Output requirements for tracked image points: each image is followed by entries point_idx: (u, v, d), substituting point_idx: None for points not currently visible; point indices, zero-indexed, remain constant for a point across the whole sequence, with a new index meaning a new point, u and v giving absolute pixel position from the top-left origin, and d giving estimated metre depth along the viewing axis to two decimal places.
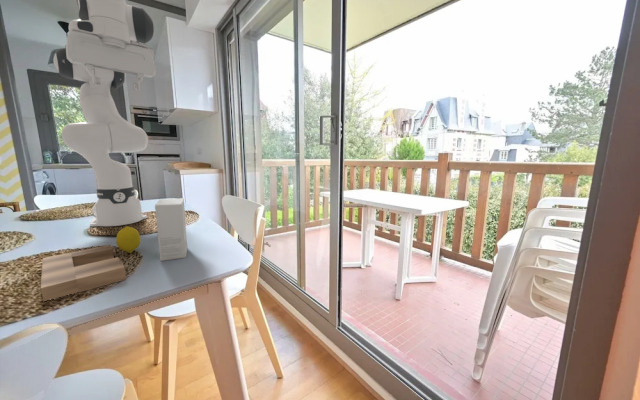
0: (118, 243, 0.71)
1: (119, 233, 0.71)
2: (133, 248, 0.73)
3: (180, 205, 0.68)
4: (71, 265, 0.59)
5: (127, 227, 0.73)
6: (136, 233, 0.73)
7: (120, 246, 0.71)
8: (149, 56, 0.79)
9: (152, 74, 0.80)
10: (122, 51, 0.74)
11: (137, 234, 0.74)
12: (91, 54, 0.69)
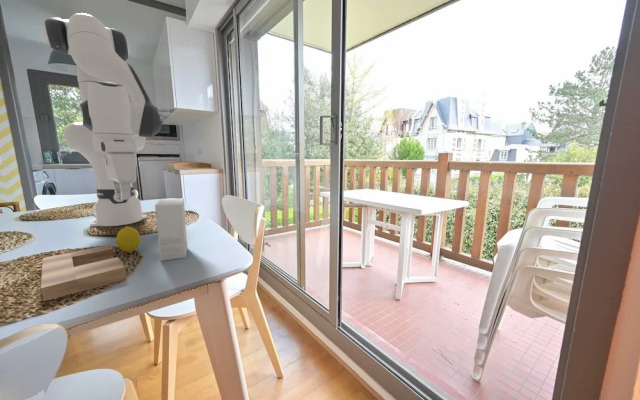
0: (118, 243, 0.71)
1: (119, 233, 0.71)
2: (133, 248, 0.73)
3: (180, 205, 0.68)
4: (71, 265, 0.59)
5: (127, 227, 0.73)
6: (136, 233, 0.73)
7: (120, 246, 0.71)
8: None
9: None
10: None
11: (137, 234, 0.74)
12: None
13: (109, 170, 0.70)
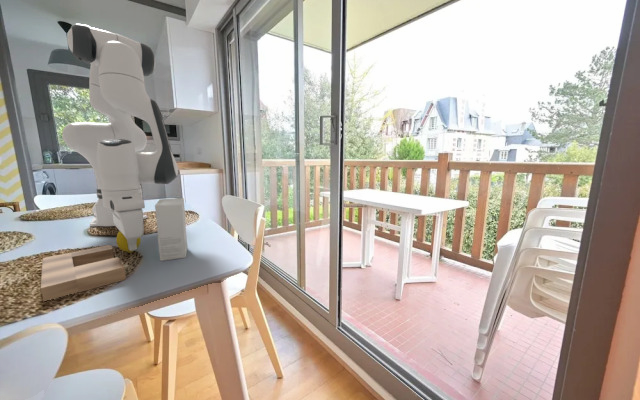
0: (118, 243, 0.71)
1: (119, 233, 0.71)
2: None
3: (180, 205, 0.68)
4: (71, 265, 0.59)
5: None
6: None
7: (120, 246, 0.71)
8: None
9: None
10: None
11: None
12: None
13: (117, 221, 0.73)
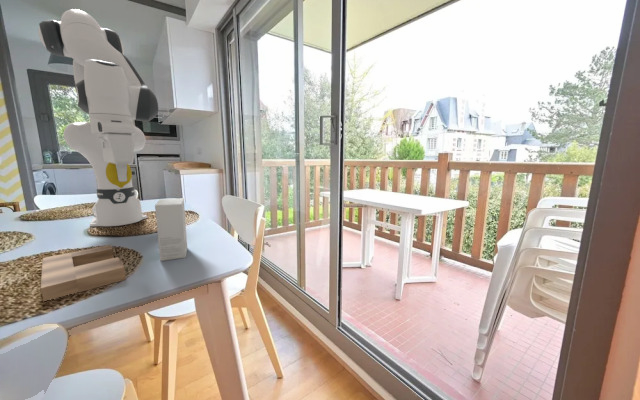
0: (107, 174, 0.67)
1: (109, 164, 0.67)
2: None
3: (180, 205, 0.68)
4: (71, 265, 0.59)
5: None
6: (127, 166, 0.69)
7: (110, 177, 0.67)
8: None
9: None
10: None
11: (128, 167, 0.70)
12: None
13: (106, 153, 0.69)
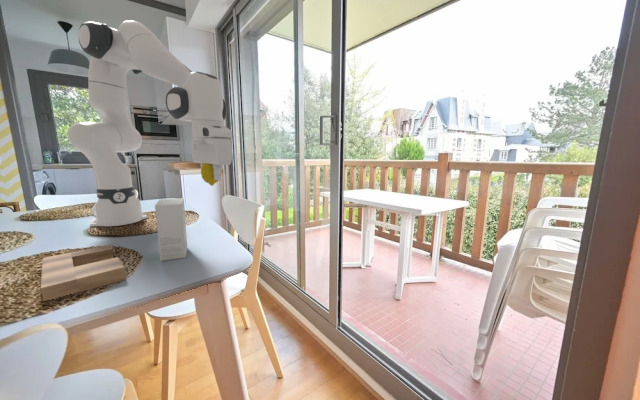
0: (204, 173, 0.75)
1: (204, 164, 0.76)
2: (216, 180, 0.77)
3: (180, 205, 0.68)
4: (71, 265, 0.59)
5: None
6: None
7: (205, 176, 0.76)
8: None
9: None
10: None
11: None
12: None
13: (200, 154, 0.77)
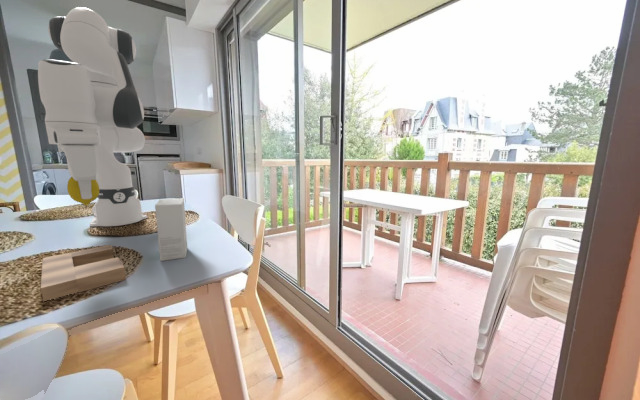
0: (69, 190, 0.58)
1: (70, 178, 0.59)
2: None
3: (180, 205, 0.68)
4: (71, 265, 0.59)
5: None
6: (92, 180, 0.61)
7: (72, 194, 0.58)
8: None
9: None
10: None
11: (94, 182, 0.61)
12: None
13: None
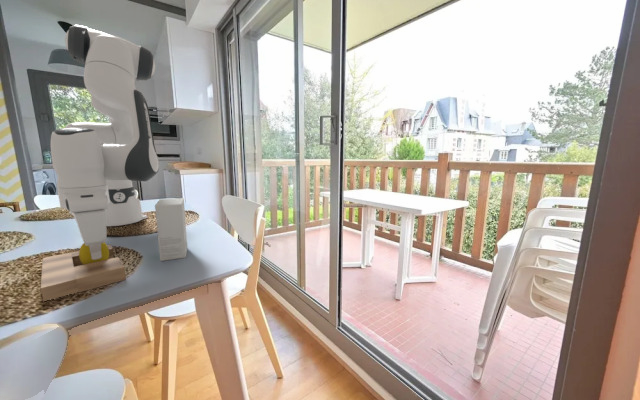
0: (81, 258, 0.61)
1: (82, 246, 0.61)
2: None
3: (180, 205, 0.68)
4: (71, 265, 0.59)
5: None
6: (103, 246, 0.63)
7: (83, 262, 0.61)
8: None
9: None
10: None
11: (104, 247, 0.63)
12: None
13: None
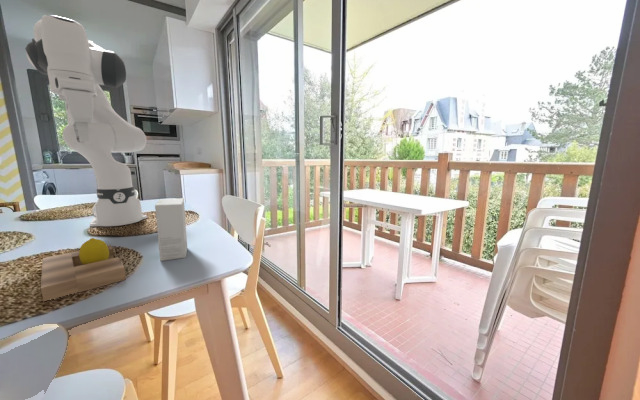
0: (81, 258, 0.61)
1: (82, 246, 0.61)
2: None
3: (180, 205, 0.68)
4: (71, 265, 0.59)
5: (92, 239, 0.62)
6: (103, 246, 0.63)
7: (83, 262, 0.61)
8: None
9: None
10: None
11: (104, 247, 0.63)
12: None
13: (68, 114, 0.68)
